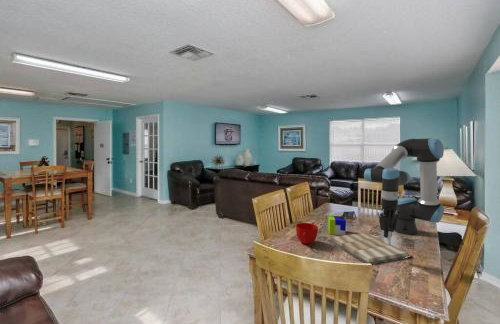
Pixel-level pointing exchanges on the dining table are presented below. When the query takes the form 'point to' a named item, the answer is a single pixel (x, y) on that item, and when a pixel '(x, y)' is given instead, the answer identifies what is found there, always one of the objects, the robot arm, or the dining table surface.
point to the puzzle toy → (336, 225)
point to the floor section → (359, 245)
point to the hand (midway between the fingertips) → (387, 243)
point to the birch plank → (380, 253)
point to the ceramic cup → (306, 232)
